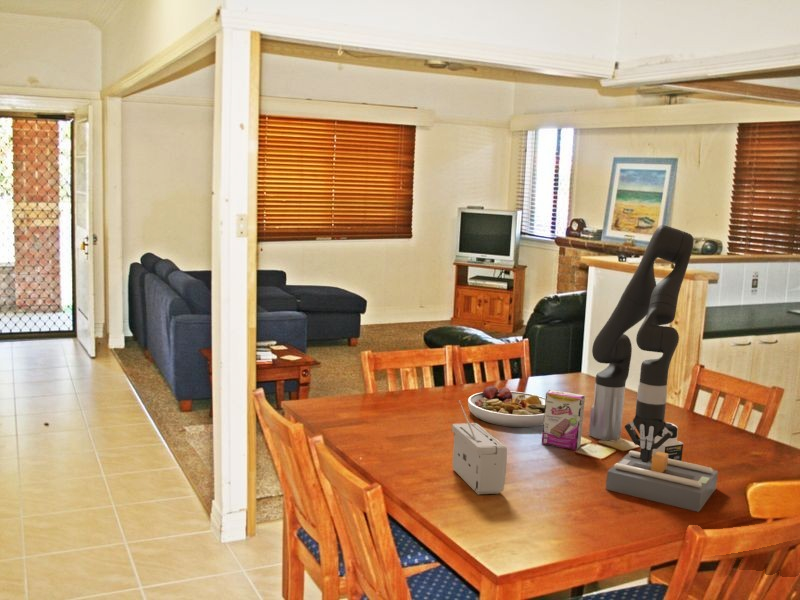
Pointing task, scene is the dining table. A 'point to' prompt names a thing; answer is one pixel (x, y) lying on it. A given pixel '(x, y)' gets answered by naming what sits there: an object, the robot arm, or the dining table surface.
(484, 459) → the stereo radio cassette player
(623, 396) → the robot arm
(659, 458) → the orange block
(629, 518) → the dining table surface
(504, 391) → the bowl
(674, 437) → the medicine bottle
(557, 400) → the candy bar box
